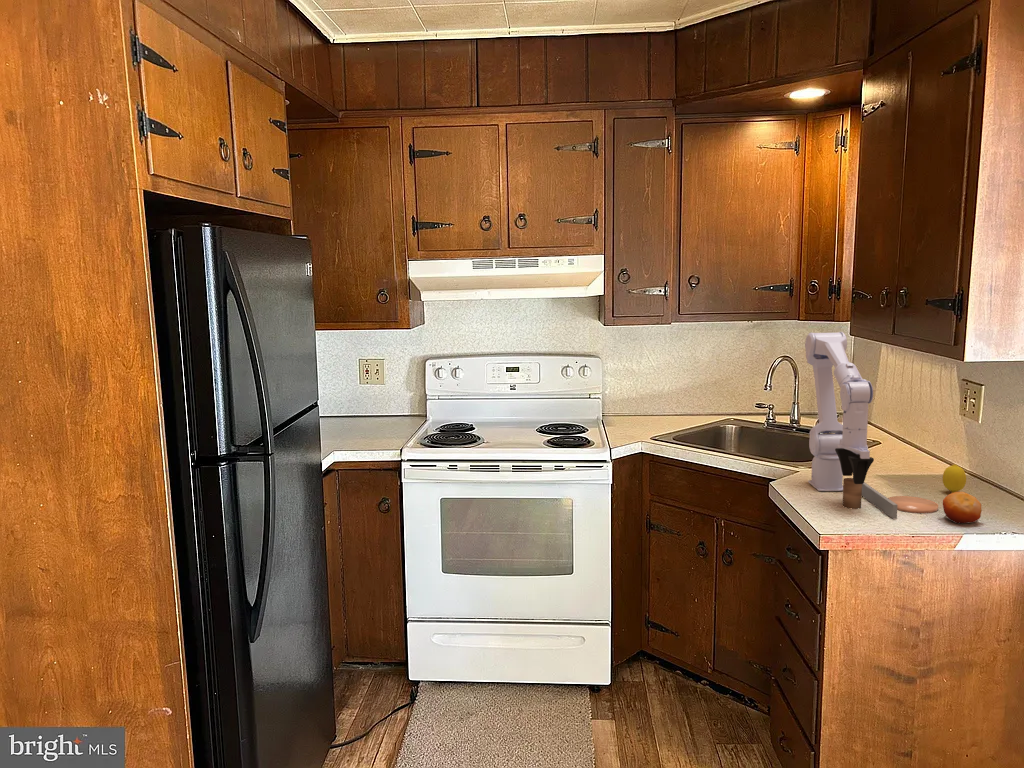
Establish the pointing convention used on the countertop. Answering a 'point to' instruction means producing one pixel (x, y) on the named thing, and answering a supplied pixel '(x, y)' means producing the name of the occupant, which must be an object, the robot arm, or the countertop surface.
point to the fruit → (962, 507)
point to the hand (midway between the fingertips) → (852, 479)
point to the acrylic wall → (879, 500)
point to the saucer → (914, 504)
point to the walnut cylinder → (851, 494)
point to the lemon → (954, 478)
